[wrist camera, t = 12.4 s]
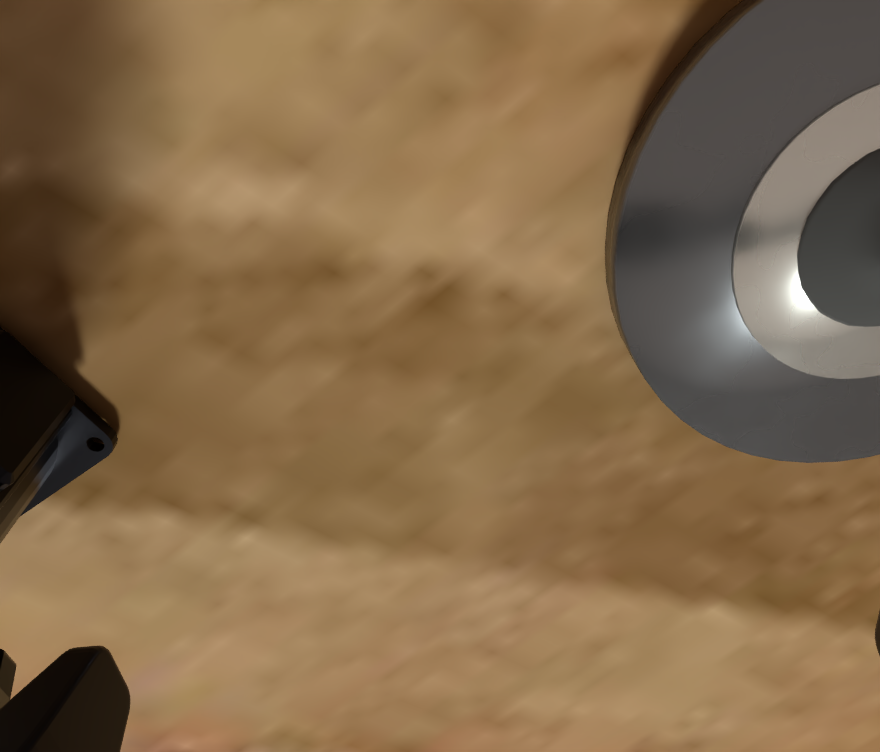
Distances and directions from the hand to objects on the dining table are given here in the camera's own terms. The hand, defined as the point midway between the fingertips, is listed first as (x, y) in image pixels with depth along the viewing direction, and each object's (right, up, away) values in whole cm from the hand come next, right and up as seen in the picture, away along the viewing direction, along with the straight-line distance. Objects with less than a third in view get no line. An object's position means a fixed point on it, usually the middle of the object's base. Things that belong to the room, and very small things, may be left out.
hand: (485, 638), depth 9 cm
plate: (+11, +7, +12) cm, 17 cm away
